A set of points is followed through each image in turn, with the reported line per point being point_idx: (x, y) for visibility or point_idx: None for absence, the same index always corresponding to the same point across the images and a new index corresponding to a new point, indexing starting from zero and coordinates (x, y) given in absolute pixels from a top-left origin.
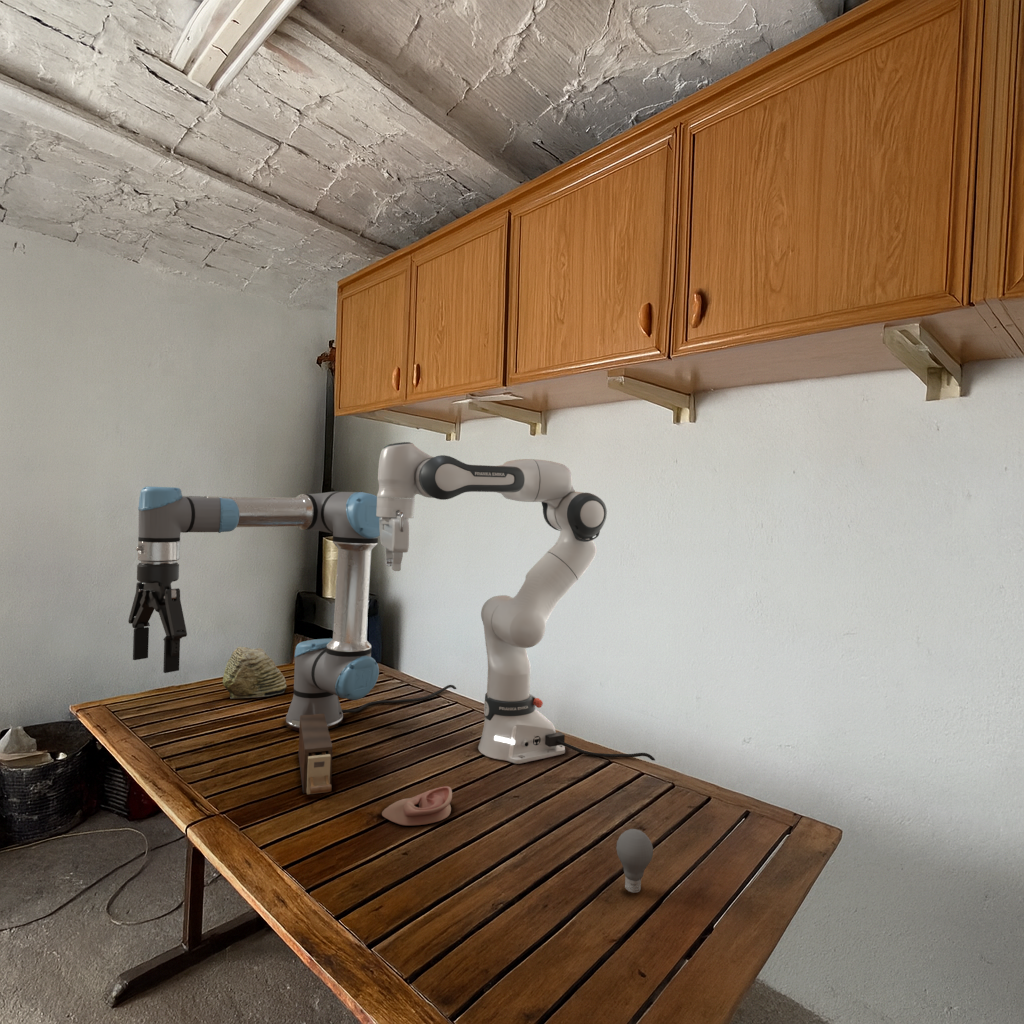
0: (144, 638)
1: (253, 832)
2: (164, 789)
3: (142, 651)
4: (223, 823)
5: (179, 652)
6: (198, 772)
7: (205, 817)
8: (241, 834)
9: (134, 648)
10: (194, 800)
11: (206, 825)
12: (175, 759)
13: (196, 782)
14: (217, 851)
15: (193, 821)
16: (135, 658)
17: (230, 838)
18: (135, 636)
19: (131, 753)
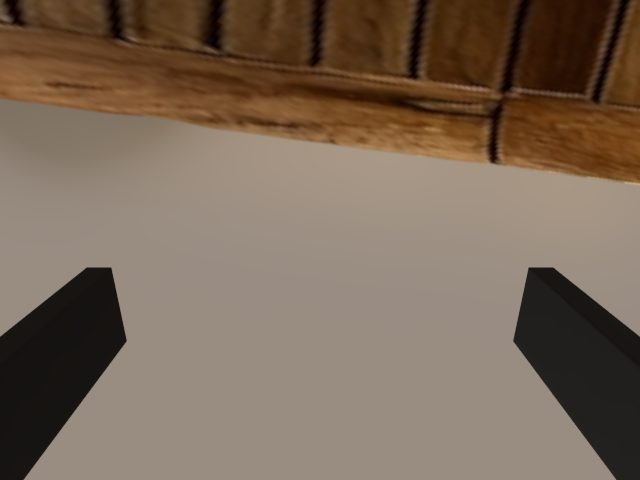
0: (22, 388)
1: (629, 89)
2: (304, 121)
3: (92, 329)
4: (545, 111)
5: (637, 337)
6: (269, 14)
7: (492, 123)
8: (612, 110)
9: (83, 395)
10: (406, 101)
11: (522, 139)
12: (145, 15)
13: (322, 49)
14: (618, 172)
15: (486, 148)
16: (119, 341)
17: (604, 133)
18: (20, 476)
19: (34, 81)
